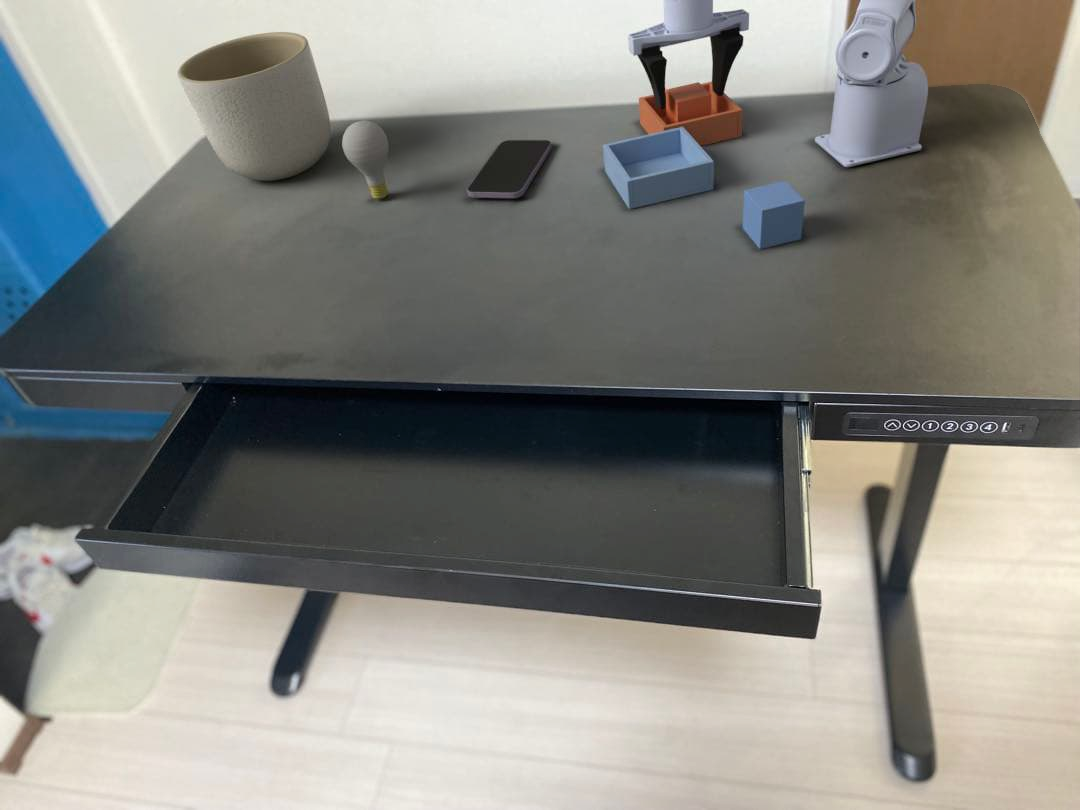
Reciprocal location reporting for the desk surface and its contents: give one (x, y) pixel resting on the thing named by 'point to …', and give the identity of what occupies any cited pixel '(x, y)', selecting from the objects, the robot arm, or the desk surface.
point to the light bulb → (368, 153)
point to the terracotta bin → (697, 119)
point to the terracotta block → (687, 103)
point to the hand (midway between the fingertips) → (689, 99)
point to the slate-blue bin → (658, 167)
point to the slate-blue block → (773, 214)
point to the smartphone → (510, 169)
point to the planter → (260, 104)
